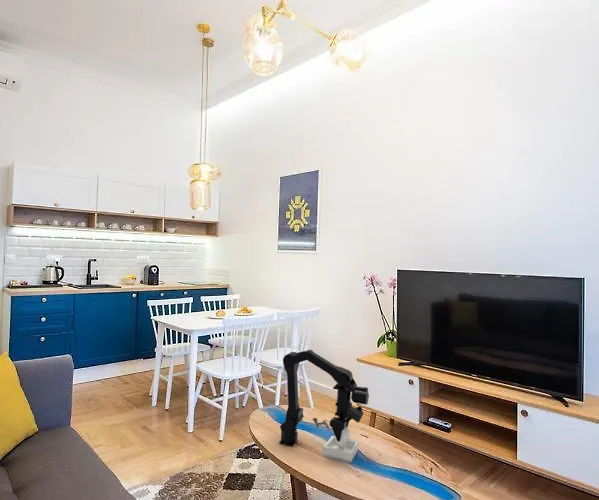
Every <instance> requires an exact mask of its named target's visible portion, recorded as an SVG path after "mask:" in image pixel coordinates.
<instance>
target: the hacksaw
mask: <svg viewBox="0 0 599 500" xmlns="http://www.w3.org/2000/svg"><path fill="white" fill-rule="evenodd" d="M313 420H314V421H313ZM312 421H313V422H314V424H315V426H316V427H318V425H323V424H324V426H325V425H326V426H327V427H326V426H325V427H326V429H327V428H330V426H329V424H328V420H326V419H323V421H321V422H318V418H317V417H312ZM326 421H327V422H326ZM316 424H317V425H316ZM330 429H331V428H330ZM330 429H329V430H330ZM329 430H328V431H329Z"/></svg>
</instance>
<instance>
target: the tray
mask: <svg viewBox="0 0 599 500" xmlns="http://www.w3.org/2000/svg"><path fill="white" fill-rule="evenodd" d="M322 449H323V451H322V452H323V454H322V456H323V457H325V458H329V459H333V460H336V461H337V460H338V461H341V462H345V463H348V464H351V463H352V462H353V460H354V459H355V457H356V455H357V454H358V452H359V441H356V440H352V439H350V438H348V440H347V441H346V443H345V447H344V450H341V449H338V441H337V439H336V437H335V435H333V436H330V438H329V439H328V440H327V442H326V443H325V444H324V445H323V448H322Z"/></svg>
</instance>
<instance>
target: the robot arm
mask: <svg viewBox="0 0 599 500" xmlns="http://www.w3.org/2000/svg"><path fill="white" fill-rule="evenodd" d="M306 361H308V362H309V363H311V364H313V365H314V366H316V367H317V368H319V369H321V370H322V371H323V372H325V373H326V374H328V375H330V376H331V378H332V379H333V380H334V381H335V382H336V384H335V385H334V386H333V387H332V389H333V390H336V391H337V393H336V394H337V396H336V402H335V407H336V409H335V410H336V411H335V413H334V416H333V417H332V418H331V419H330V420H329V424H328V426H329V427H330V428H332V429H331V430H332V432H334V433H333V434H334V436H336V439H337V441H339V442H340V439H341V434H342V430H344V429H345V428H346V427H347V428H348V429H349V424H350V421H351V420H353V421H355V423H360V422H361V420H362V418H363V415H364V411H363V407H362V406H361V405H365V406H367V405H368V404H369V398H370V394H369V388H368V387H366V386H365V387H363V386H358V384H357V383H356V380H355V379H354V377H353V376H354V375H353V373H352V371H351V370H350V369H347V368H345V367H342V366H338V365H336V364H333V363H332V362H331V361H329V360H328V359H325V358H324V357H322V356H321V355H319V354H317V353H316V352H314V350H312V349H307V350H304V351H299V352H297V351H291V352H289V353H287V354H285V355H284V356H283V358H282V364H283V368H284V370H285V372H286V373H285V374H286V378H287V379H286V381H287V382H286V383H287V385H286V386H287V410H286V414H285V419H284V422H282V423H281V424H280V425H279V427H280V431H281V432H280V433H281V434H280V441H279V443H278V444H282V445H286V446H290V447H293V446H294V445H295V444H296V443H297V442H298V439H299V438H298V435H299V433H298V431H297V430H298V428H297V427H298V425H299V424H300V423H302V421H303V418H304V417H305V415H304V408H303V407H300V404H299V390H298V389H299V388H298V387H299V385H298V370H299V367H300V363H302V362H306ZM351 401H352V402H353V403H355V404H360V405H359V406H357V407H356V406H355V407H354V406H353V403H352V402H351Z"/></svg>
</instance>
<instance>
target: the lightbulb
mask: <svg viewBox="0 0 599 500" xmlns="http://www.w3.org/2000/svg"><path fill="white" fill-rule="evenodd" d="M350 433H351V432H350V429H349V427H348V428H347V427H346V428H345V429H344V430H342V434H341V439H340V442H339V441H338V449H341V450H344V447H345V443H346V441H347V440H348V439H350V435H351V434H350ZM334 436H335V435H334ZM335 437H336V436H335Z"/></svg>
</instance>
